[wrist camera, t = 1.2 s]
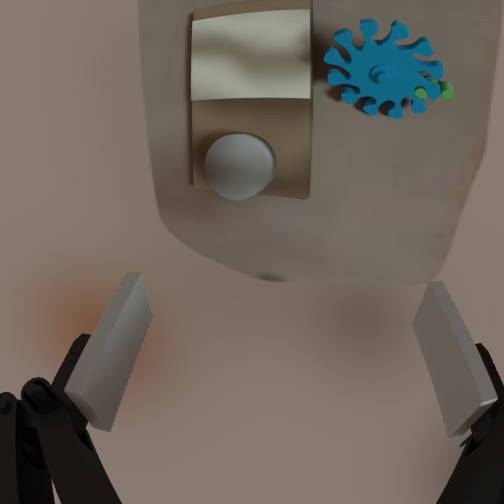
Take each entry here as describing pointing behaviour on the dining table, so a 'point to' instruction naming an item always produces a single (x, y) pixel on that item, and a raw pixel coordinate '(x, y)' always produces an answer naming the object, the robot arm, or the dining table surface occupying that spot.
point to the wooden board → (253, 98)
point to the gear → (387, 70)
